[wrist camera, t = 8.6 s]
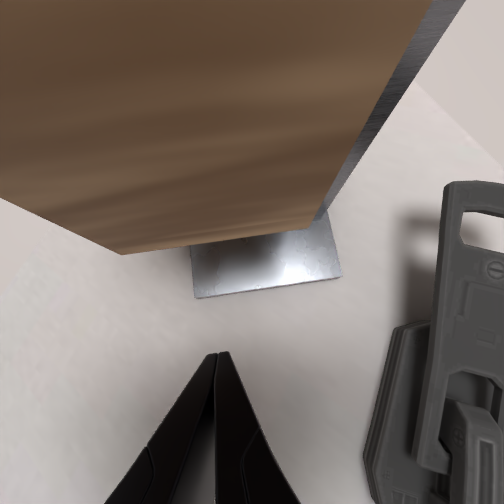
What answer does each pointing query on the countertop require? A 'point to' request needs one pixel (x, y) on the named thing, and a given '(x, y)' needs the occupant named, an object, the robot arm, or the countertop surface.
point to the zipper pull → (447, 376)
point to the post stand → (319, 232)
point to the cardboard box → (188, 111)
